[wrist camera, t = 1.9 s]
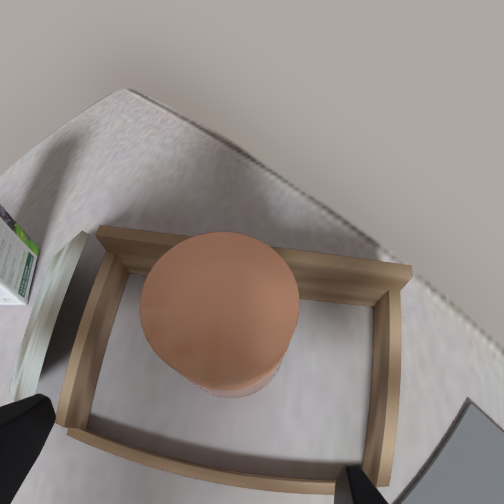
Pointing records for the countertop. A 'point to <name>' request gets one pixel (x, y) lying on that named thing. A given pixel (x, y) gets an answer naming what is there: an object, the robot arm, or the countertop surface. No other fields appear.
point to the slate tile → (464, 465)
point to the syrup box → (15, 261)
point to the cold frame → (141, 262)
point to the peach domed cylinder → (221, 312)
